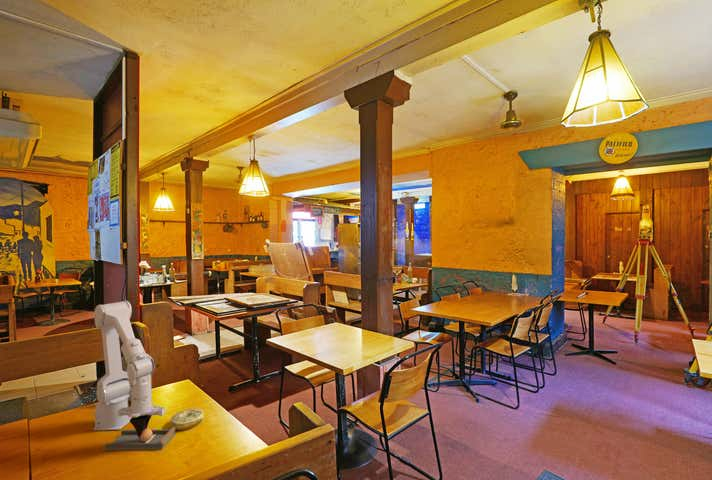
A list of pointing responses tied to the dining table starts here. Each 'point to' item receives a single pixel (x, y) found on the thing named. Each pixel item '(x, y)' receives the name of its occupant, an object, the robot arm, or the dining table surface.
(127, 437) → the lane
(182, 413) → the decorated donut
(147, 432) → the ball
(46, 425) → the dining table surface
